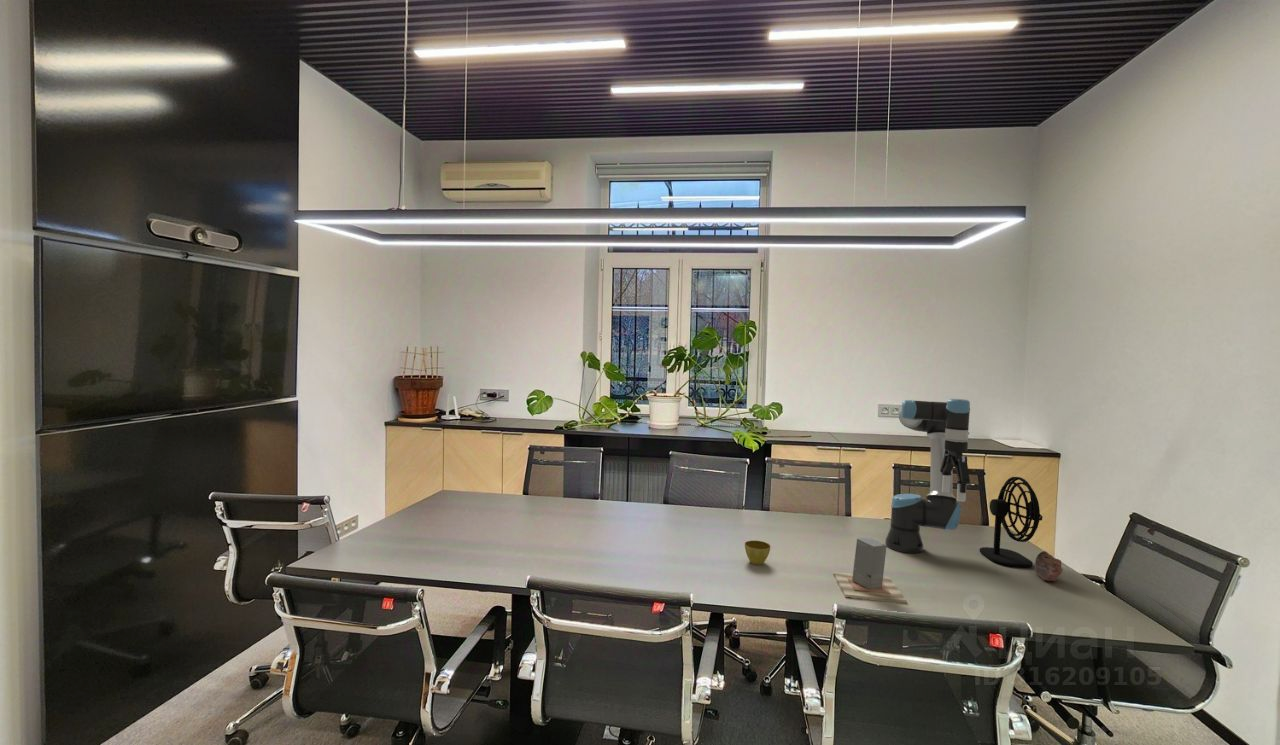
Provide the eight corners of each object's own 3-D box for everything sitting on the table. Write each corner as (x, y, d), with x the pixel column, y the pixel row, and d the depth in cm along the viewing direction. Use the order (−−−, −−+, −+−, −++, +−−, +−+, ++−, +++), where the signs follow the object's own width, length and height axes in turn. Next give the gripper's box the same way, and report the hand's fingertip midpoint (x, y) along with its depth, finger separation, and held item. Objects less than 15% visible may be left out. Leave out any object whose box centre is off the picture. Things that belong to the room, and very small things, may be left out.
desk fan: (1050, 573, 219) (1055, 486, 218) (1002, 570, 221) (1007, 483, 220) (1012, 550, 246) (1017, 471, 245) (970, 546, 248) (974, 469, 247)
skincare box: (851, 581, 201) (853, 538, 201) (866, 578, 204) (868, 536, 204) (870, 590, 193) (872, 545, 193) (885, 587, 196) (887, 543, 196)
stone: (1031, 572, 220) (1033, 547, 220) (1056, 574, 218) (1057, 549, 218) (1046, 584, 208) (1048, 558, 208) (1072, 587, 206) (1074, 561, 206)
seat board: (833, 574, 210) (833, 571, 210) (888, 579, 207) (888, 576, 207) (845, 597, 190) (845, 593, 190) (906, 603, 187) (906, 599, 187)
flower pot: (770, 568, 214) (771, 550, 214) (743, 565, 216) (744, 547, 216) (769, 559, 224) (770, 541, 224) (744, 556, 226) (744, 539, 226)
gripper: (982, 446, 194) (979, 506, 195) (953, 436, 219) (950, 489, 220) (960, 445, 195) (956, 504, 196) (932, 435, 220) (930, 488, 221)
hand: (953, 496), depth 208 cm, fingers open, 13 cm apart
